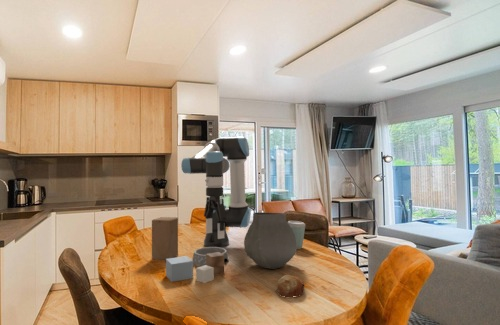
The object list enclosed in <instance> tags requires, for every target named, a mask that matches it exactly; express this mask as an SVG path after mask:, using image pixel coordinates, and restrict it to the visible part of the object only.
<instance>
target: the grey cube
mask: <svg viewBox="0 0 500 325" xmlns="http://www.w3.org/2000/svg"><path fill="white" fill-rule="evenodd" d="M195 277H196V278H195V280H196V281H198V282H199V283H200V282H201V283H203V284H206V283H208V282H211V281H214V279H215V278H214V277H215V276H214V267H210V266H207V265H204V266H197V267H196V268H195Z"/></svg>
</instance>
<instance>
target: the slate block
mask: <svg viewBox="0 0 500 325" xmlns="http://www.w3.org/2000/svg"><path fill="white" fill-rule="evenodd" d="M165 275H166V277H167V278H168V280H169V281H170V282H172V283H174V282H178V281H183V280H191V279H194V264H193V261H192V259H191V258H190V257H189V256H187V255H183V256H176V257H174V258H169V259H166V260H165Z"/></svg>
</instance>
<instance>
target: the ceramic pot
mask: <svg viewBox="0 0 500 325" xmlns="http://www.w3.org/2000/svg"><path fill="white" fill-rule="evenodd" d="M243 240H244V241H243V248H244V251H245V253H246V255H247V257H248V258H250V259H251V260H252V261H253V262H254V263H255V265H256V266H259V267H260V268H264V269H273V270H275V269H280V268H281V267H283V266H285V265H286V264H287V263H289V262H290V261H291V260H292V259H293V257H294V256H295V255H296V252H297V250H298V249H297V242H296V238H295V234H294V232H293V230H292V228H291V226H290V225H289V224H288V221H287V214H286V213H285V212H265V211H264V212H262V211H261V212H260V211H259V212H253V213H252V222H251V224H250V225H249V227H248V229H247V231H246V234H245V236H244V239H243Z"/></svg>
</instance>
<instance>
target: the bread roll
mask: <svg viewBox="0 0 500 325" xmlns="http://www.w3.org/2000/svg"><path fill="white" fill-rule="evenodd" d="M276 291H277V292H276ZM275 292H276V294H278V295H279V296H280V295H281V296H285V297H284V298H286V297H293V296H299V295H301V296H303V294H304V293H305V284H304V283H303V281H302V280H301V279H300V278H299V277H297V276H295V275H289V274H285V275H283V276H282V277H280V278H279V279H278V281H277V283H276V290H275ZM281 296H280V297H281ZM299 297H300V296H299Z"/></svg>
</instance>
